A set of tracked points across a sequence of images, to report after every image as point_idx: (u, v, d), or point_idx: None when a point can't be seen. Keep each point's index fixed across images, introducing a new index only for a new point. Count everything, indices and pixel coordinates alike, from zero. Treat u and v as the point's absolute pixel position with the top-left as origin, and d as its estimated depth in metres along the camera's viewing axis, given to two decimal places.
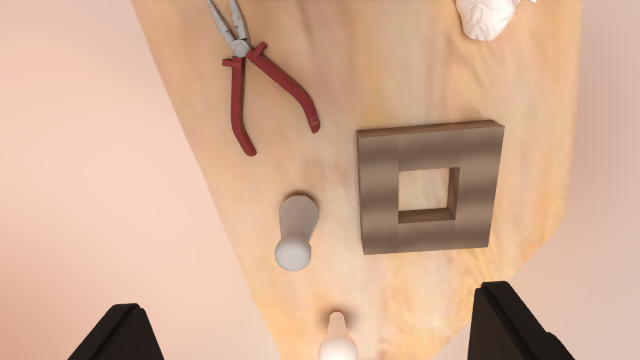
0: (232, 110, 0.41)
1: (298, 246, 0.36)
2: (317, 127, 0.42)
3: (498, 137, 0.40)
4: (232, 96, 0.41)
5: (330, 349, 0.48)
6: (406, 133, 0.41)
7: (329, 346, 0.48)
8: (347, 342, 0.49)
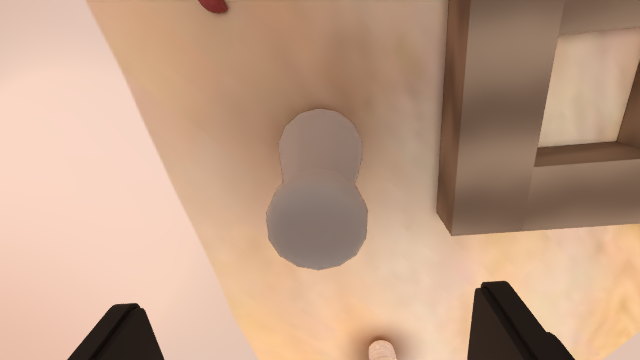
0: None
1: (336, 195, 0.12)
2: None
3: None
4: None
5: None
6: None
7: None
8: None
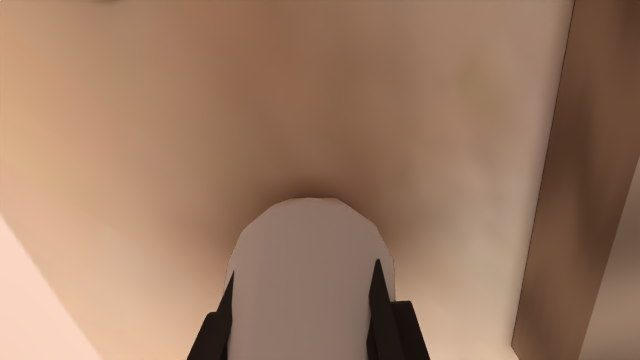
0: None
1: None
2: None
3: None
4: None
5: None
6: None
7: None
8: None
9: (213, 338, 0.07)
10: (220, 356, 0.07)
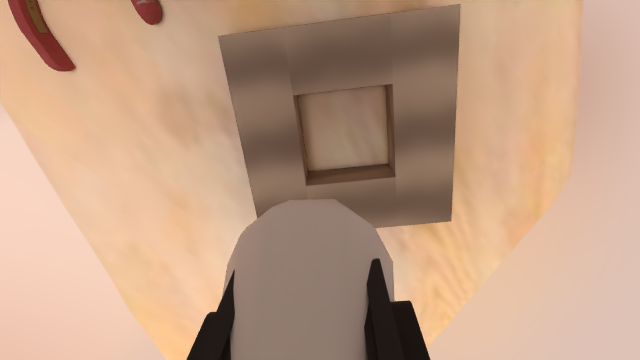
0: None
1: None
2: (149, 10, 0.25)
3: (451, 26, 0.24)
4: None
5: None
6: None
7: None
8: None
9: (213, 338, 0.07)
10: (220, 356, 0.07)
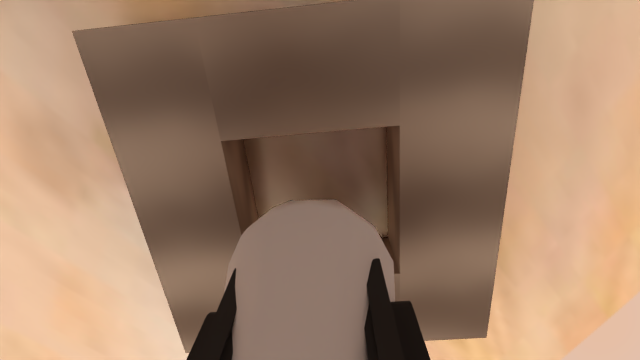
0: None
1: None
2: None
3: (515, 23, 0.12)
4: None
5: None
6: (221, 15, 0.13)
7: None
8: None
9: (213, 338, 0.07)
10: (220, 356, 0.07)
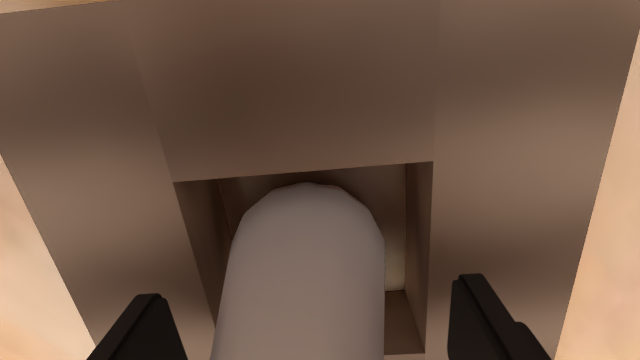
0: None
1: None
2: None
3: (620, 9, 0.08)
4: None
5: None
6: None
7: None
8: None
9: None
10: None
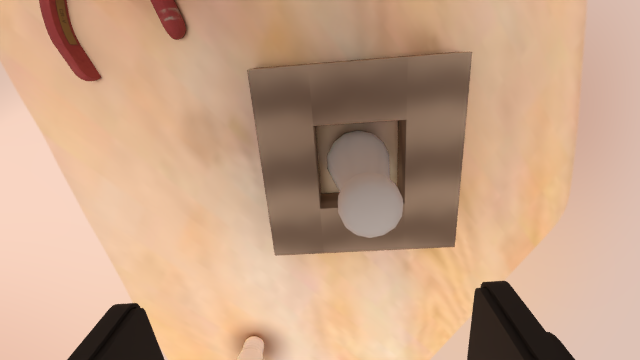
0: (39, 0, 0.26)
1: (386, 188, 0.20)
2: (176, 26, 0.27)
3: (463, 71, 0.26)
4: None
5: None
6: (320, 63, 0.26)
7: None
8: None
9: None
10: None
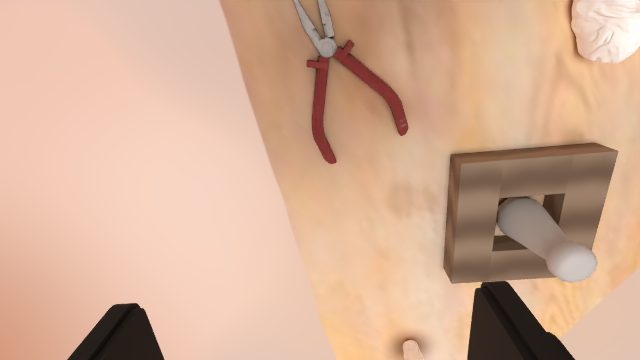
0: (315, 115, 0.38)
1: (590, 254, 0.32)
2: (406, 129, 0.39)
3: (610, 162, 0.38)
4: (316, 99, 0.38)
5: None
6: (511, 158, 0.38)
7: None
8: None
9: None
10: None
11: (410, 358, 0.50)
